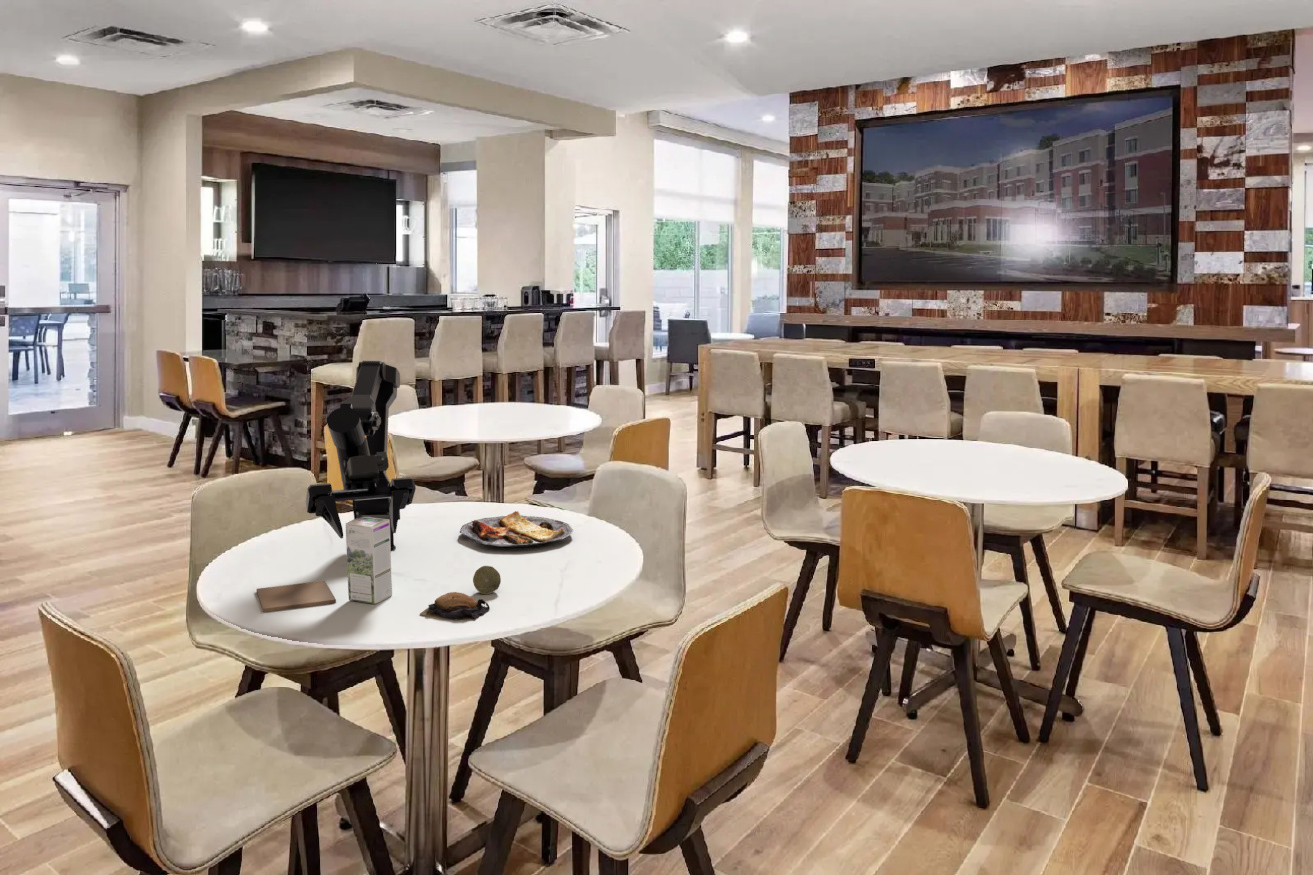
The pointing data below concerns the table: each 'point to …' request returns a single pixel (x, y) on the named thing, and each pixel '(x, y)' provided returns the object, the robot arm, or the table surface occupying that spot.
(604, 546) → the table surface
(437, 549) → the table surface
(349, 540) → the syrup box
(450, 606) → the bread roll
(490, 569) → the lime
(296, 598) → the plate
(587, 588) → the table surface
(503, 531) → the food plate
